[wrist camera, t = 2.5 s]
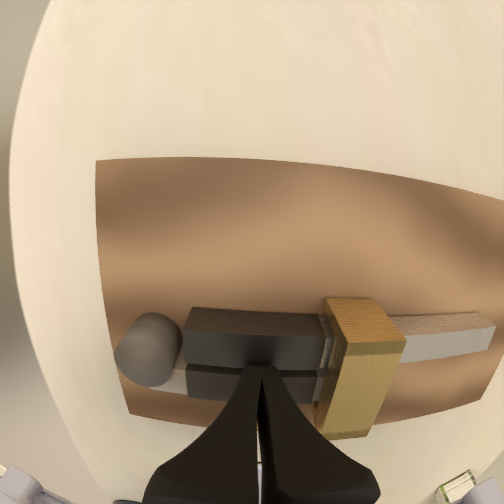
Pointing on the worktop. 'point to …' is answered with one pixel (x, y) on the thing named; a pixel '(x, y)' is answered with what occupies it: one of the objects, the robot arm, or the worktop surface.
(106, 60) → the worktop surface
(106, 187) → the tong board
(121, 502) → the canister
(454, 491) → the syrup box
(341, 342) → the wooden u-shaped block
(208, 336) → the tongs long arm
